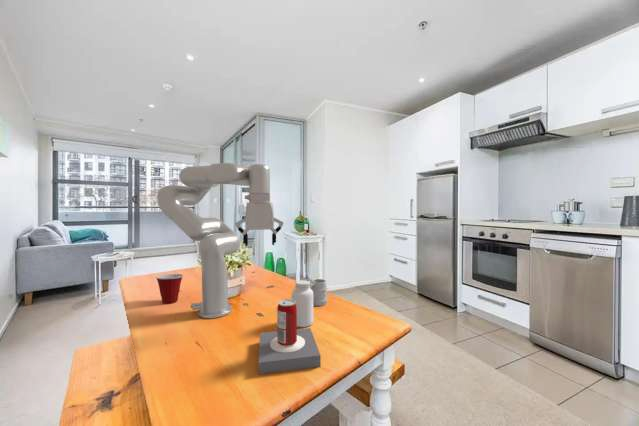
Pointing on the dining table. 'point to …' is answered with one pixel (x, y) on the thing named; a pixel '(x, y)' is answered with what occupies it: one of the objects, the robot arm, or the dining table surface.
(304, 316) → the pill bottle
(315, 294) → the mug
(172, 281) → the plastic cup
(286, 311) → the soda can
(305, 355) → the base
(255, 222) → the robot arm
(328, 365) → the dining table surface
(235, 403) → the dining table surface
